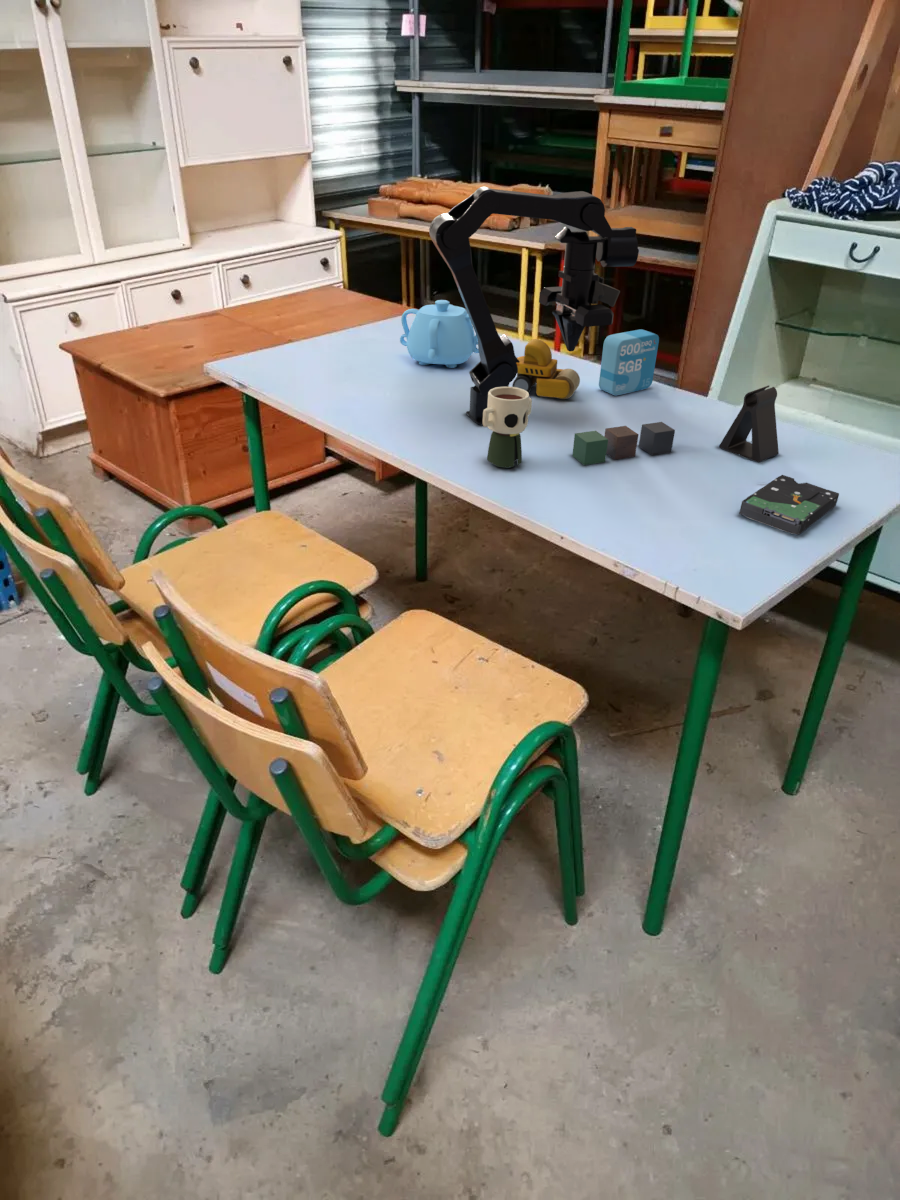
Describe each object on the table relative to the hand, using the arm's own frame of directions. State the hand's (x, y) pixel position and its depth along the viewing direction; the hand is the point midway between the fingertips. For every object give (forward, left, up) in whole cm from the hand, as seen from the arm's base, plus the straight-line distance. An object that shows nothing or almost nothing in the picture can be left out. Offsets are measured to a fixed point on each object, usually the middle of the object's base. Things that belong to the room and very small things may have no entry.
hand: (570, 350), depth 171 cm
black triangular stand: (+24, -28, -13) cm, 39 cm away
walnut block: (0, -21, -13) cm, 25 cm away
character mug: (-22, -18, -13) cm, 31 cm away
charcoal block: (+8, -21, -13) cm, 26 cm away
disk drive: (+14, -51, -13) cm, 54 cm away
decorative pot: (-11, +40, -13) cm, 44 cm away
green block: (-6, -21, -13) cm, 26 cm away
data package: (+20, +9, -13) cm, 26 cm away
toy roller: (+2, +13, -13) cm, 19 cm away
